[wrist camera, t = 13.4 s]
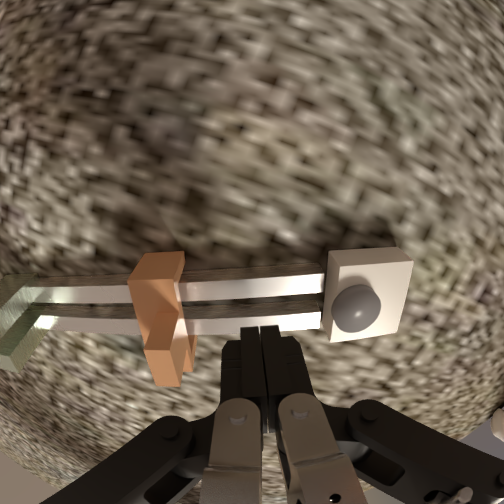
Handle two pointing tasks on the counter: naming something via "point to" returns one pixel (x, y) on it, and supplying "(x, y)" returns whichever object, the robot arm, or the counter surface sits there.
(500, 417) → the water bottle
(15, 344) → the leg
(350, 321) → the block
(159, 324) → the stepped wooden block
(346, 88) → the counter surface
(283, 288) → the leg
